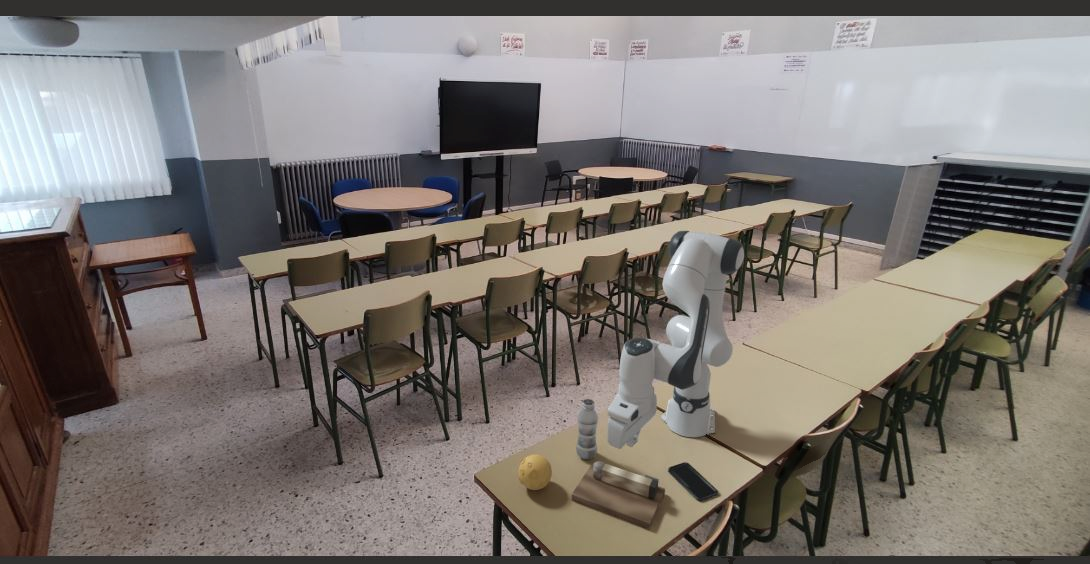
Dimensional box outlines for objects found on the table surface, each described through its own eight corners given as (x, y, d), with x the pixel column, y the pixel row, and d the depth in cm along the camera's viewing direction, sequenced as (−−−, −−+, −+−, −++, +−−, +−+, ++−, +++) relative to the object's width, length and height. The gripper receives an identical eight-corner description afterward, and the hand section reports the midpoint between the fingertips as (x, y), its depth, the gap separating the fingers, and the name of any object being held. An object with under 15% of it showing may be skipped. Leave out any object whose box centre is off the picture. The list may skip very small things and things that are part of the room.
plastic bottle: (595, 463, 165) (598, 409, 158) (574, 460, 166) (576, 406, 159) (597, 450, 171) (600, 397, 164) (577, 447, 172) (579, 395, 165)
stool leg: (591, 477, 155) (592, 466, 154) (595, 471, 158) (596, 459, 157) (653, 499, 147) (654, 487, 146) (656, 492, 150) (658, 480, 148)
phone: (686, 461, 165) (720, 492, 152) (686, 464, 165) (719, 495, 153) (666, 468, 162) (698, 500, 149) (666, 471, 162) (698, 503, 149)
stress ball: (545, 476, 160) (522, 454, 160) (563, 465, 154) (539, 442, 154) (530, 502, 152) (505, 478, 152) (548, 491, 146) (522, 466, 146)
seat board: (591, 468, 162) (592, 455, 161) (664, 494, 152) (666, 480, 151) (571, 499, 150) (571, 485, 148) (649, 529, 140) (650, 514, 138)
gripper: (643, 379, 144) (640, 421, 149) (603, 412, 129) (601, 458, 134) (664, 386, 141) (660, 429, 145) (625, 422, 126) (622, 468, 130)
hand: (631, 443), depth 140 cm, fingers closed
